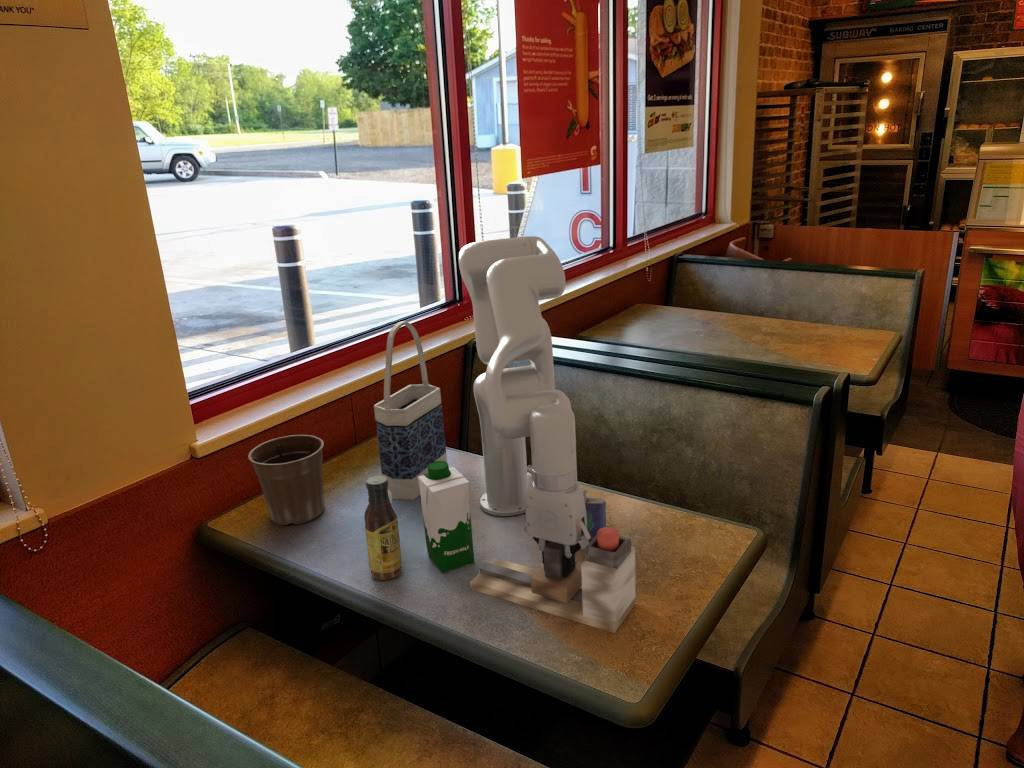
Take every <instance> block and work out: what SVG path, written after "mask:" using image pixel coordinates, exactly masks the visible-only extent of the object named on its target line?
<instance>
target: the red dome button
mask: <svg viewBox="0 0 1024 768" xmlns="http://www.w3.org/2000/svg"><path fill="white" fill-rule="evenodd" d="M619 536H620V532H619V530H618V529H617V528H615V527H610V526H606V527H604V528H601V529H599V530H598V531H597V547H598V548H599V549H603V550H607V551H611V552H616V551H617V550H618V548H619Z"/></svg>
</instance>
